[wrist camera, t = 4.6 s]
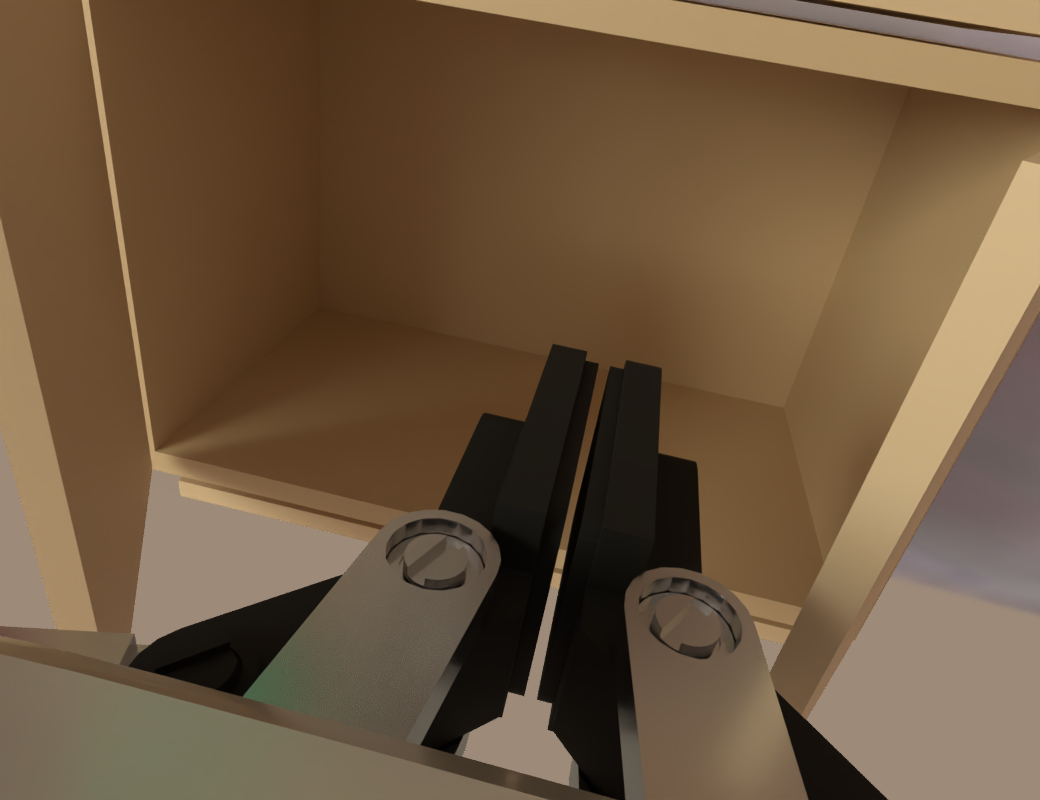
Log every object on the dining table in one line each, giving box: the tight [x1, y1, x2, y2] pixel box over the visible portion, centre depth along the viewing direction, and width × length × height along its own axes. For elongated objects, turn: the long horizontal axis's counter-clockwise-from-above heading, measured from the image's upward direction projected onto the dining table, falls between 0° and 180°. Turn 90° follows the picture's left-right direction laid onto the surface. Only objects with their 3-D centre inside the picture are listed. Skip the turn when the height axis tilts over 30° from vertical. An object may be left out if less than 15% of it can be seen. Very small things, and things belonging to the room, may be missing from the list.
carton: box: [82, 0, 1040, 644], centre depth 19 cm, size 18×14×10 cm
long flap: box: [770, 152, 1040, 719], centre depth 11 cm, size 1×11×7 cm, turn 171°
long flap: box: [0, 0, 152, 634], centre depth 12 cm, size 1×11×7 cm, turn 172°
